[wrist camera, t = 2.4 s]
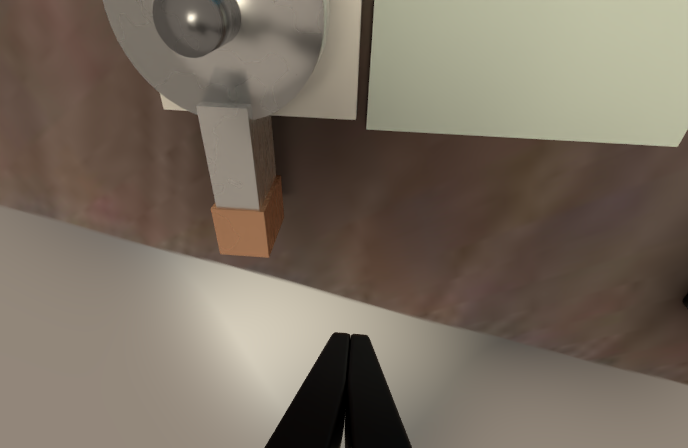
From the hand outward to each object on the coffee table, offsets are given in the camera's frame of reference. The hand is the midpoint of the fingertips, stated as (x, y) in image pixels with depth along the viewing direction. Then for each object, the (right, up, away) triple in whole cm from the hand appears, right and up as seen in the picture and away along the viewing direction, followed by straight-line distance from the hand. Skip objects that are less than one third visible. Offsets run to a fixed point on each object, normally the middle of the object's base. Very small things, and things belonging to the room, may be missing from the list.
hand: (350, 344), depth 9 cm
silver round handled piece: (-4, +9, +7) cm, 12 cm away
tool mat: (+8, +11, +6) cm, 15 cm away
